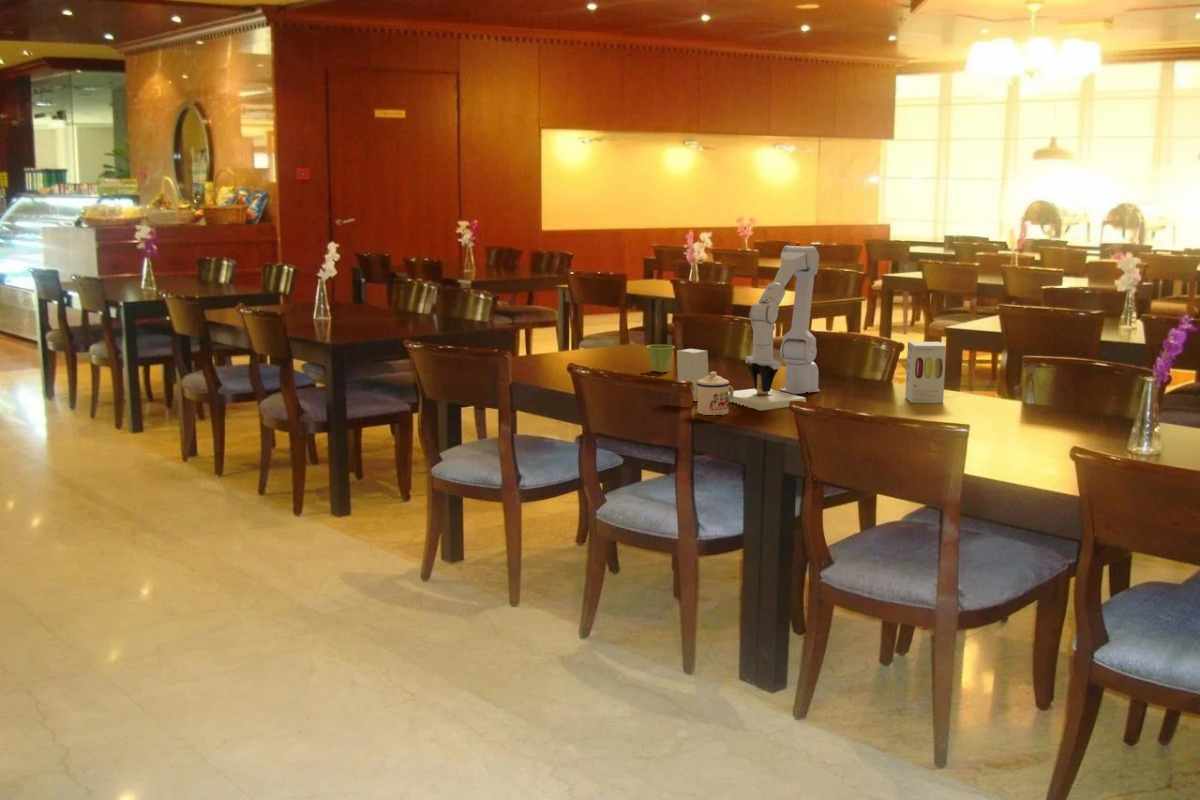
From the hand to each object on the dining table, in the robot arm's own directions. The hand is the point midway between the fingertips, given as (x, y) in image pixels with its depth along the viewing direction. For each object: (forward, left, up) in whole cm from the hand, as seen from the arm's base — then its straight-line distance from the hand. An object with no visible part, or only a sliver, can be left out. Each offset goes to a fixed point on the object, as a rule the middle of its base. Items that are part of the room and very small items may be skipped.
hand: (762, 390), depth 351 cm
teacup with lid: (+20, +6, -4) cm, 21 cm away
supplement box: (-41, +23, -4) cm, 47 cm away
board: (0, 0, -3) cm, 3 cm away
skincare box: (+15, -14, -4) cm, 21 cm away
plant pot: (-3, -62, -4) cm, 62 cm away
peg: (0, 0, -3) cm, 3 cm away
